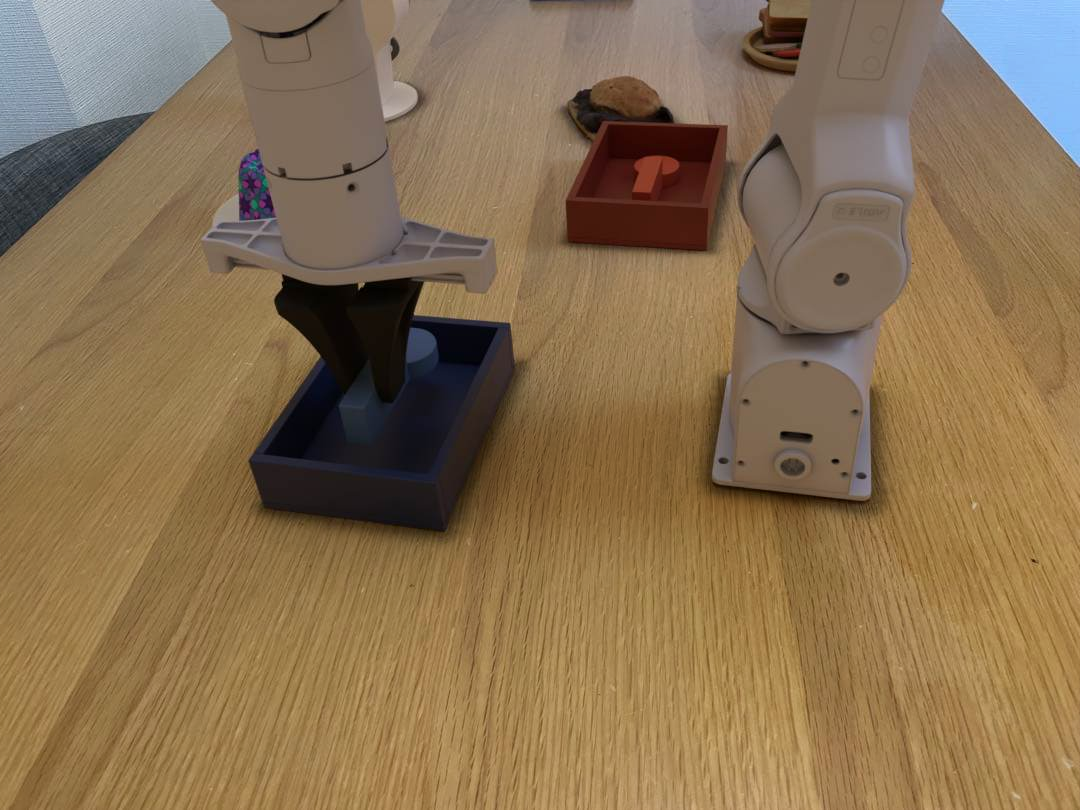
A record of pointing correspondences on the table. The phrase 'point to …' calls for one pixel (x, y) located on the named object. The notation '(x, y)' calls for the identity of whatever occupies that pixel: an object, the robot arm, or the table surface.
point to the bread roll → (617, 104)
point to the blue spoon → (362, 400)
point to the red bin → (682, 209)
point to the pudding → (248, 194)
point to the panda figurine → (388, 53)
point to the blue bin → (391, 436)
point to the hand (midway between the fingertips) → (376, 389)
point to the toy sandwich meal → (779, 34)
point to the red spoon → (654, 176)
